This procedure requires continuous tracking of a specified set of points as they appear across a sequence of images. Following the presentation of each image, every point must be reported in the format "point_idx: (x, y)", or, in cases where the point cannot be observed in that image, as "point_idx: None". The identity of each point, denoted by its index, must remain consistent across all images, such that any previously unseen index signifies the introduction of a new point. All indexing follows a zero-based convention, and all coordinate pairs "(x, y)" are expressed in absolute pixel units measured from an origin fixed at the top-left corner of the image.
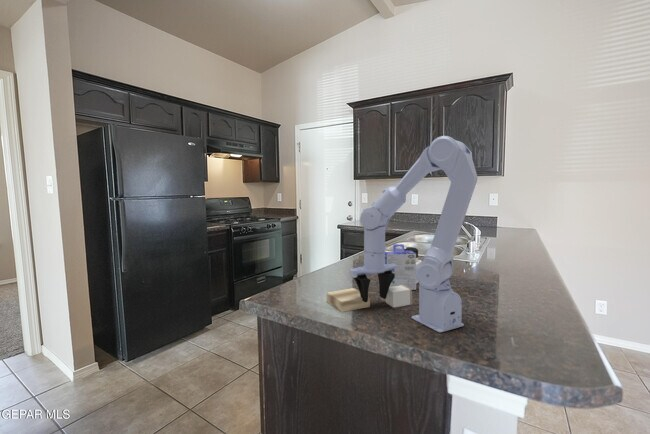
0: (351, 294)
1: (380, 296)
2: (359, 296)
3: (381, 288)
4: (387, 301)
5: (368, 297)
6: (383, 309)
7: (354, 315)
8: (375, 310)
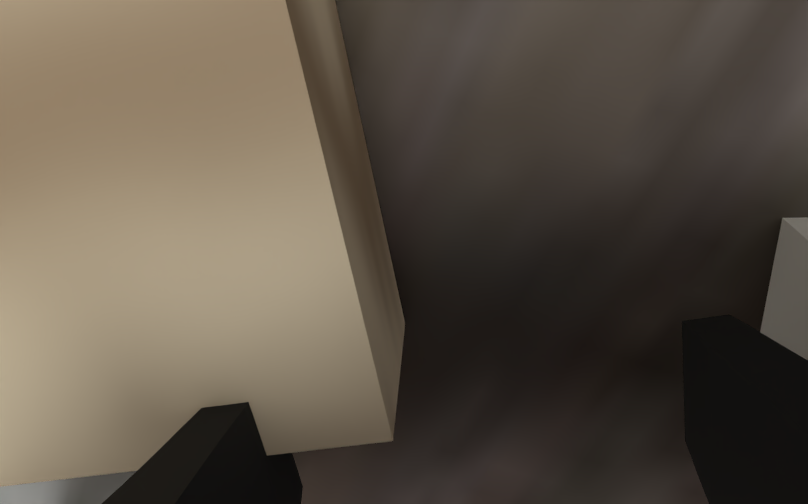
0: (17, 205)
1: (685, 340)
2: (177, 376)
3: (775, 491)
4: (787, 302)
5: (362, 431)
6: (555, 457)
7: (95, 497)
8: (427, 452)
